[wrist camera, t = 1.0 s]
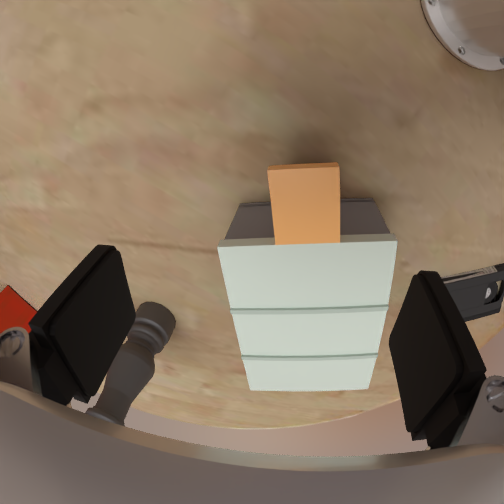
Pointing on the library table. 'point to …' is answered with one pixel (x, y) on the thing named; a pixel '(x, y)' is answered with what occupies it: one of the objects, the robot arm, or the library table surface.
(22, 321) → the file binder
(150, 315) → the candle holder
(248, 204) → the tub
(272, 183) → the lid
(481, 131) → the library table surface
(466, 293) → the vhs tape
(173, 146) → the library table surface
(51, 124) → the library table surface
